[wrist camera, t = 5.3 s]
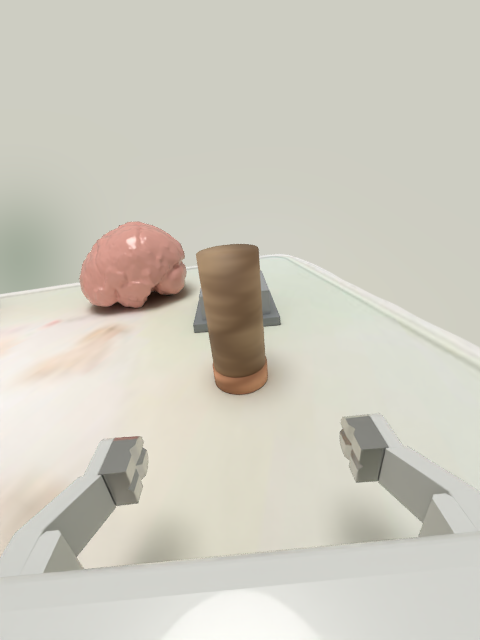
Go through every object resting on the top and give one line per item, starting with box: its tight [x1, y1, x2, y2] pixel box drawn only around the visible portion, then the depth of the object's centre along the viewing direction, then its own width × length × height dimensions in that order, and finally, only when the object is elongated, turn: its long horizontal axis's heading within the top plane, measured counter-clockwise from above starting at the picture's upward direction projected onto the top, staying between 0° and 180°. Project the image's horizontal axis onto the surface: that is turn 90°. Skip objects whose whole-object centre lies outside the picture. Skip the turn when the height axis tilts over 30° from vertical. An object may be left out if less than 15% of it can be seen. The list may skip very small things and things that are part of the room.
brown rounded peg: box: [196, 244, 268, 394], centre depth 22 cm, size 5×5×11 cm
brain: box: [79, 222, 187, 308], centre depth 43 cm, size 16×13×12 cm
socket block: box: [193, 271, 280, 333], centre depth 36 cm, size 10×10×4 cm
